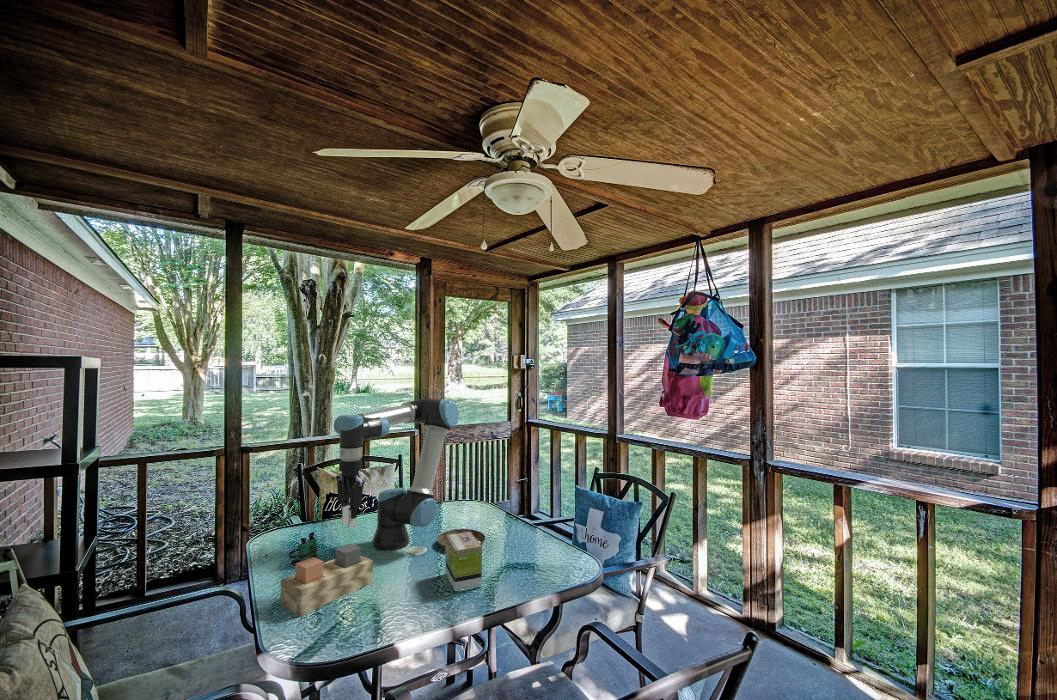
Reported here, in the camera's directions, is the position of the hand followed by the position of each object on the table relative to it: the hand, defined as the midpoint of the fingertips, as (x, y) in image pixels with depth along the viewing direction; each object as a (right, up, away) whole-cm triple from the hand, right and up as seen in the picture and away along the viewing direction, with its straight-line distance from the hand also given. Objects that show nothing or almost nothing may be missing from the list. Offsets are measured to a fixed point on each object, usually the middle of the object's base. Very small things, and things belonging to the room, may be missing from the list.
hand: (348, 526), depth 158 cm
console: (-4, -20, -6) cm, 22 cm away
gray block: (0, -16, 0) cm, 16 cm away
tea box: (+40, -22, +4) cm, 45 cm away
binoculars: (-25, -21, +17) cm, 37 cm away
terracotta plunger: (-8, -15, -12) cm, 21 cm away
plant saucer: (+34, -23, +37) cm, 55 cm away
